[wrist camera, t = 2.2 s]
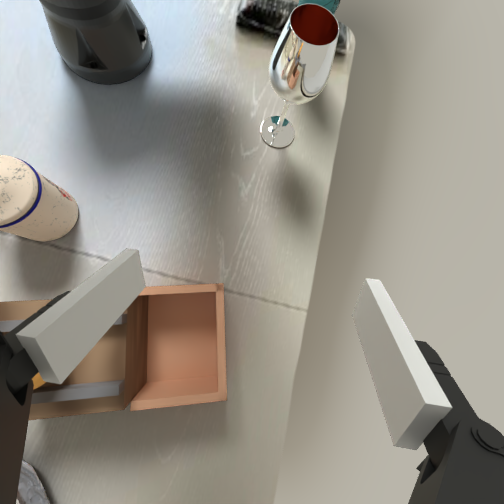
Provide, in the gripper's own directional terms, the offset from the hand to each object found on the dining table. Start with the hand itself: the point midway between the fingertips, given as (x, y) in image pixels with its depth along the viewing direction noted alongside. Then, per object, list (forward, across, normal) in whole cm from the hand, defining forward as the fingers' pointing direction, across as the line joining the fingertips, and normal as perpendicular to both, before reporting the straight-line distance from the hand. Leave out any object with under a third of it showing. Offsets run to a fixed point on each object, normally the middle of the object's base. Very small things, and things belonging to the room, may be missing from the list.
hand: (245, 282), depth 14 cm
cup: (+13, -10, -20) cm, 26 cm away
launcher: (+9, -22, -21) cm, 32 cm away
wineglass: (+38, -1, +6) cm, 39 cm away
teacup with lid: (+19, -35, -6) cm, 40 cm away
